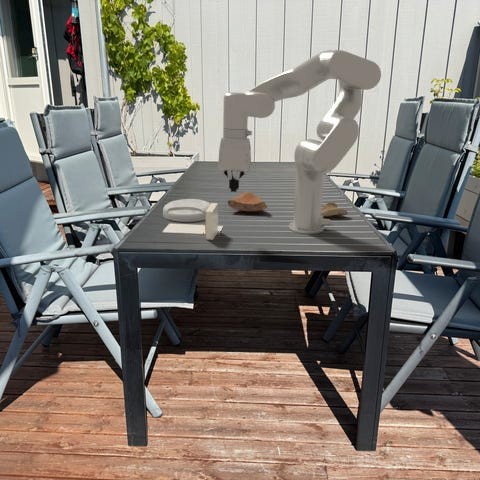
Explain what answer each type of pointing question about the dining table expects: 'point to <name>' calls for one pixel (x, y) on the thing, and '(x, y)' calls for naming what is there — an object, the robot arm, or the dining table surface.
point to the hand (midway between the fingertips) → (233, 190)
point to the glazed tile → (211, 221)
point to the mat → (187, 228)
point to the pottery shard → (332, 210)
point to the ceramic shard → (247, 202)
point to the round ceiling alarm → (186, 210)
